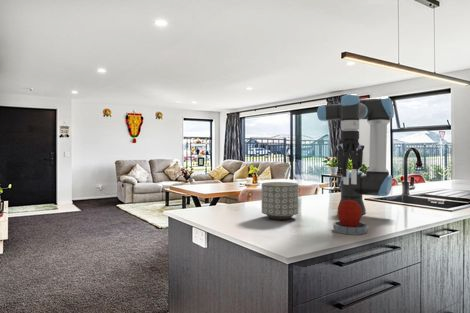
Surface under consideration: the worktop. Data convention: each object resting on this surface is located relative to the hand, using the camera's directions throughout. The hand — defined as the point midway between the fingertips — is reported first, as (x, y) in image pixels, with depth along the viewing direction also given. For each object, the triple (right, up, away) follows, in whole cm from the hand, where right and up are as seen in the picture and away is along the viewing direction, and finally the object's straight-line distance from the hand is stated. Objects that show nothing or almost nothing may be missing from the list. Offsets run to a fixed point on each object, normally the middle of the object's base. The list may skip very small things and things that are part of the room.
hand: (349, 184), depth 148 cm
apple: (0, -20, 0) cm, 20 cm away
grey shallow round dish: (0, -21, 0) cm, 21 cm away
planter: (-27, -20, +29) cm, 44 cm away
